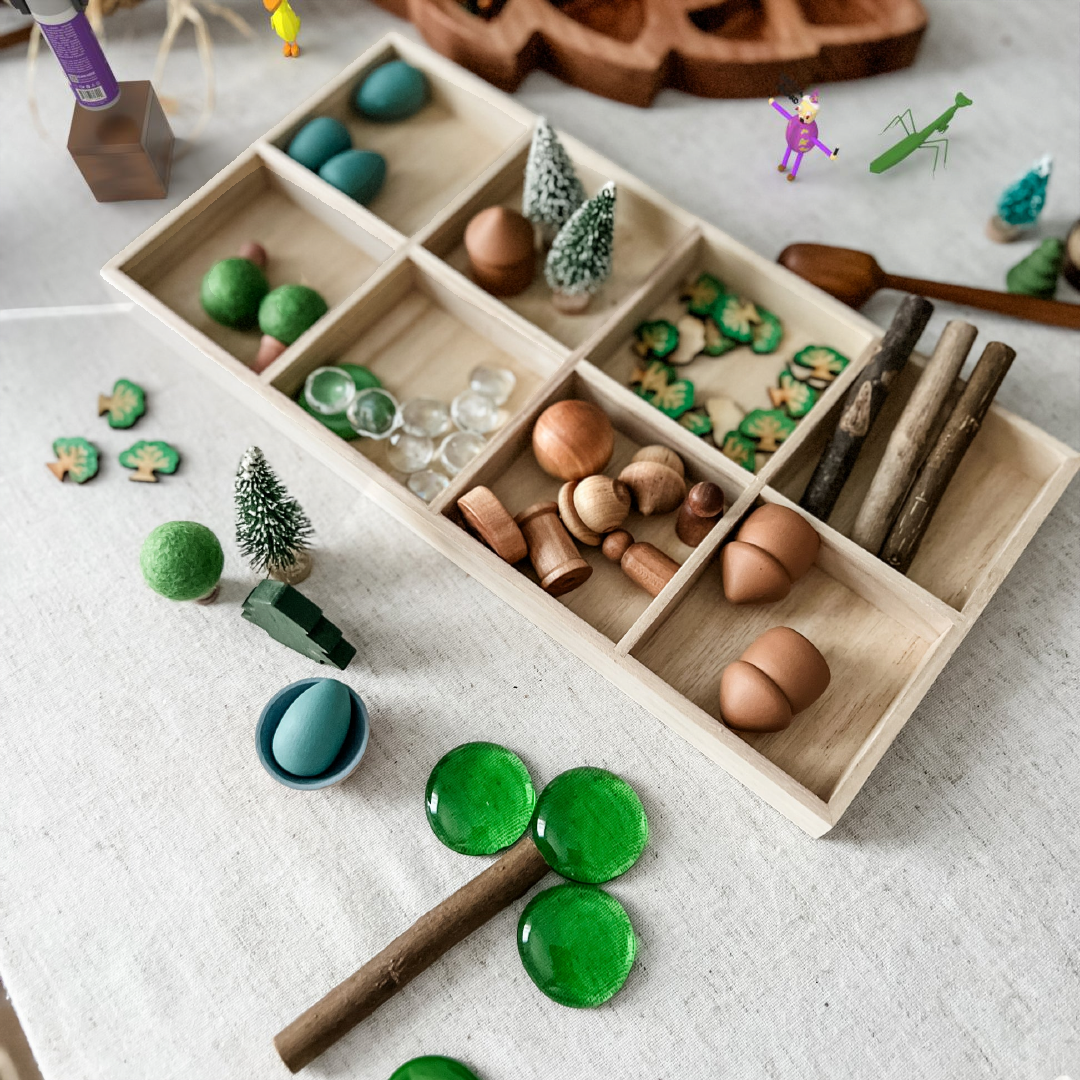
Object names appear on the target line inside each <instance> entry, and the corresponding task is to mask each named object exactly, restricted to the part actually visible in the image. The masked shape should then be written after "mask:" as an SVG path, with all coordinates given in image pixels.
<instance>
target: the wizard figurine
mask: <svg viewBox="0 0 1080 1080" xmlns="http://www.w3.org/2000/svg"><path fill="white" fill-rule="evenodd" d="M780 80H782V82H784V84H785V85H787V87H788V88H790V87H792V89H791V90H792V91H793V92H794V93H797V92H798V89H799V86H798V85H796V83H794V84H793V80H791V78H789V77H787V76H786V75H785V73H783V72H780ZM792 84H793V85H792ZM776 87H777V90H779V92H781V94H782V95H784V96H785V97H788V100H789V101H791V103H793V104H794V105H797V104H798V103H799V98H798V97H797V96H795V94H793V93H792V92H791V91H789V89H788V88H787V87H786V86H783V84H780V82H777V86H776ZM803 91H804V90H803V89H802V90H800V91H799V92H798V94H797V95H798V96H799V95H800V98H801V99H802V100H801V102H800V104H798V105H797V107H795V109H794V110H795V111H797V113H796V114H795V115H793V116H792V114H790V113H789V112H788V111H787V110H785V109H784V108H783V107H782V106H781V105H780V104H779V103H778V102H776V100H775V98H773V97H770V98H769V99H768V104H769V106H770V107H773V108H774V109H775V110H776V111H777V112H779V113H780V115H782V116H783V117H784V118H785V119H786V120H787V121H788V122H787V124H786V127H785V131H784V133H785V135H784V136H785V141H786V144H787V145H786V150H785V153H784V156H783V159H782V161H781V164H779V165H778V167H777V170H778V171H779V172H783V171H785V170H786V169H787V166H788V162H789V160H790V156H791V154H792V151H793V152H794V153H797V155H796V158H795V161H794V164H793V166H792V169H791V173H788V174H787V176H786V180H787V181H789V182H792V181H794V180H795V179H796V177H797V174H798V171H799V168H800V164H801V162H802V160H803V156H804V154H806V153H808V152H810V151H811V150H813V148H814V147H815V146H816V147H817V148H819V150H821V151H822V152H823V153H824V154H825V155H827V156H828V157H829V158H830V160H831V161H832V162H835V161H837V159H838V153H839V150H840V148H841V144H840V143H838V144H836V146H835V149H834V151H832V150H830V149H829V148H828V147H827V146H826V145H825V144H823V142H821V141H820V140H819V139H818V138H819V127H818V124H817V122H816V120H815V118H816V117H817V115H818V114H819V113H820V111H821V109H822V105H821V104H820V103H819V102H818V101H819V95H818V94H819V88H816V89H815V91H814V92H813V93H812V94H811V95H810V94H809V95H808V94H807V95H804V96H803V93H804V92H803ZM787 92H788V93H787Z"/></svg>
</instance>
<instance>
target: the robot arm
mask: <svg viewBox="0 0 1080 1080" xmlns="http://www.w3.org/2000/svg"><path fill="white" fill-rule="evenodd" d="M8 1H9V3H10V4H11V6H12V7H13V8H15V9H16V10H19V11H20V14H21V15H23V16H29V15H30V16H32V13H31V11H30V9H29V7H28V5H27V3H26V1H25V0H8ZM71 1H72V3H73V6H74V8H75V10H76V11H77V12H86V11H87V7H88V6H89V2H90V0H71Z"/></svg>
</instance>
